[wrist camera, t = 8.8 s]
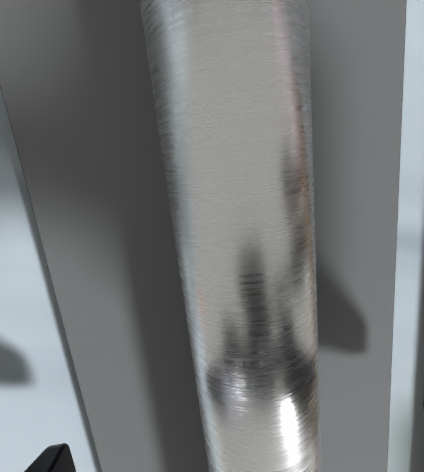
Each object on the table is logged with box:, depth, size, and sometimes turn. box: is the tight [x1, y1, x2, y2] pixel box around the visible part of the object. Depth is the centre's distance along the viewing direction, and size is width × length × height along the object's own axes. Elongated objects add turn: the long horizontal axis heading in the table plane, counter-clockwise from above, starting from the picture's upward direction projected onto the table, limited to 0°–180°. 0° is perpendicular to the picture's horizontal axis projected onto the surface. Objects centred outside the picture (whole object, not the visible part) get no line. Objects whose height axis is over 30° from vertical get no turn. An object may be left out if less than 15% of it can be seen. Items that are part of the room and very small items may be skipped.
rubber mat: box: [0, 0, 407, 472], centre depth 9 cm, size 9×24×1 cm, turn 7°
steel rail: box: [139, 0, 322, 472], centre depth 7 cm, size 28×3×3 cm, turn 6°
